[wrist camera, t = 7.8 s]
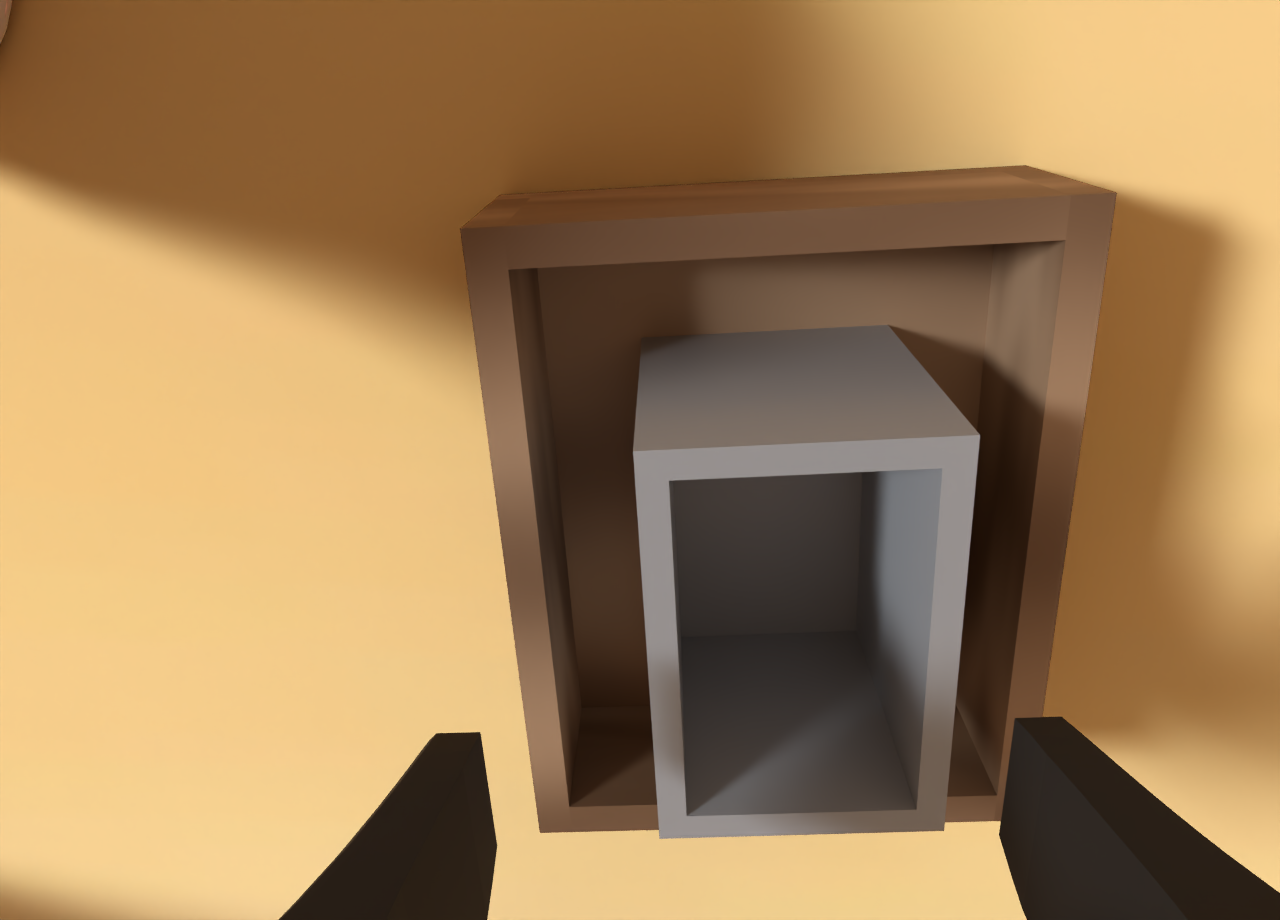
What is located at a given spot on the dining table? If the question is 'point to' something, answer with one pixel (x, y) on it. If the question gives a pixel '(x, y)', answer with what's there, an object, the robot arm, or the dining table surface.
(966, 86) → the dining table surface
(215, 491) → the dining table surface
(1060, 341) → the walnut crate
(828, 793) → the grey crate
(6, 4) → the coffee cup
